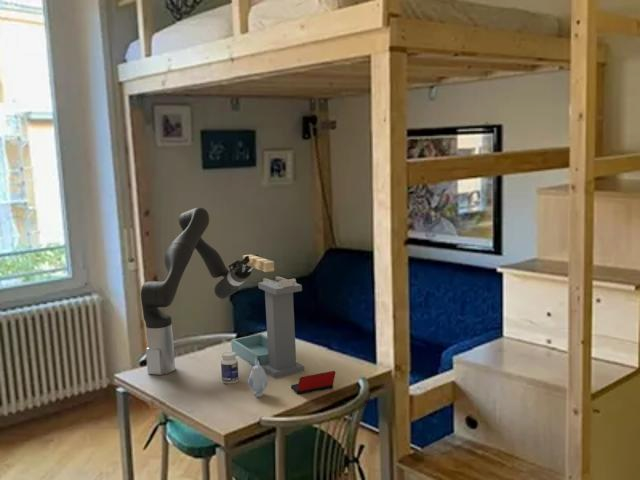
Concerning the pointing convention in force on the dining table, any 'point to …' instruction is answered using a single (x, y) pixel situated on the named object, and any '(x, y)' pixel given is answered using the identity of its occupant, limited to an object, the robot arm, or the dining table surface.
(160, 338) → the robot arm
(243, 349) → the teal tray
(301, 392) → the handheld game console
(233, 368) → the pill bottle
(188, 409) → the dining table surface
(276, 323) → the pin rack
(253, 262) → the maple pin
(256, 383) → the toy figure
